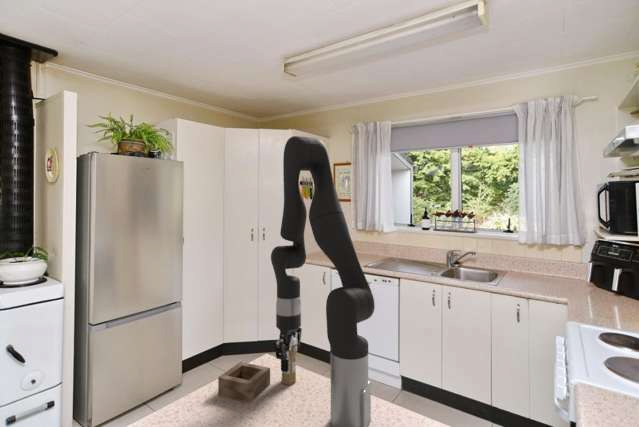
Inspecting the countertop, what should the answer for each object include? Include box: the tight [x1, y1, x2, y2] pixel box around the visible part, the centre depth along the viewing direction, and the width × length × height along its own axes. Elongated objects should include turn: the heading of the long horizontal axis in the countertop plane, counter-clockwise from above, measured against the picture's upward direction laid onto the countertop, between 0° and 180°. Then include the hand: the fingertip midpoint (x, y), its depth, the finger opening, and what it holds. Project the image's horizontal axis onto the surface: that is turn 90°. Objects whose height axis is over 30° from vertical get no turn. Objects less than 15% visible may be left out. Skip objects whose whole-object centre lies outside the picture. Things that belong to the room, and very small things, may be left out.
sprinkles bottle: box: [281, 337, 297, 386], centre depth 102 cm, size 5×5×14 cm
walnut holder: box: [217, 361, 271, 404], centre depth 97 cm, size 10×10×5 cm
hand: (288, 367), depth 102 cm, fingers closed on sprinkles bottle, 4 cm apart
